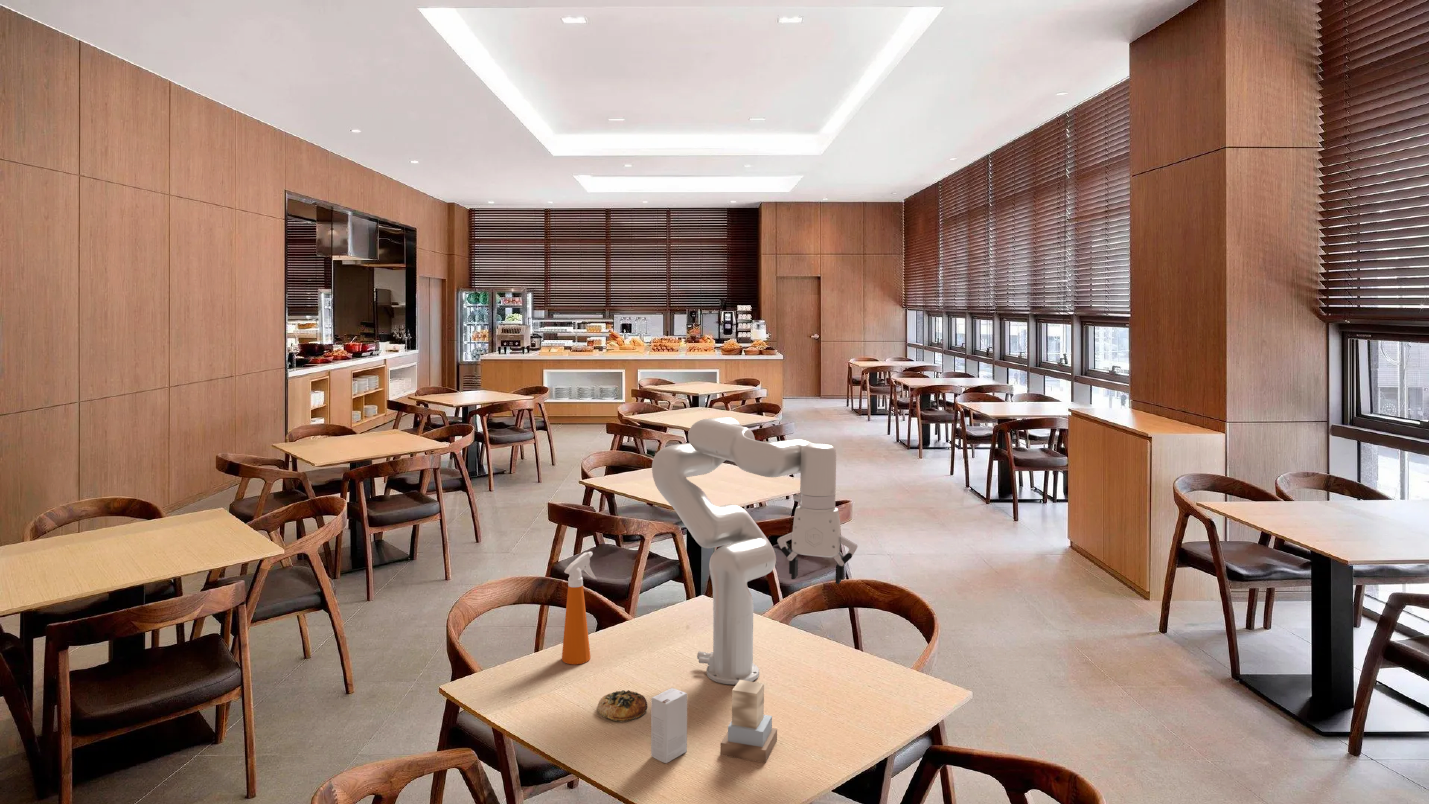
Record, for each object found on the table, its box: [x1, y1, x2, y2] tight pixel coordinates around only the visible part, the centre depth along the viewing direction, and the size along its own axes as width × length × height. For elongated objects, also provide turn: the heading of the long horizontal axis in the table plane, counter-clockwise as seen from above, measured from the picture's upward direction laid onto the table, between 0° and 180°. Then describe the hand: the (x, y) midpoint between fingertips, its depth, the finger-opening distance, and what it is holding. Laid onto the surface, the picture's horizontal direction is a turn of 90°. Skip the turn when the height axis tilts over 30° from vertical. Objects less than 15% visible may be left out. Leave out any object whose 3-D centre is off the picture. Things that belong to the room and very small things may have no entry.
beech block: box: [731, 680, 765, 729], centre depth 160 cm, size 5×5×7 cm
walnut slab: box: [720, 727, 778, 764], centre depth 160 cm, size 9×9×3 cm
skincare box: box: [650, 687, 688, 764], centre depth 157 cm, size 6×4×12 cm
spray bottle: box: [561, 551, 598, 666], centre depth 204 cm, size 7×11×26 cm, turn 144°
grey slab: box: [727, 714, 773, 747], centre depth 160 cm, size 7×7×3 cm
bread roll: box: [596, 689, 648, 723], centre depth 176 cm, size 11×11×5 cm
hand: (816, 579), depth 176 cm, fingers open, 9 cm apart
